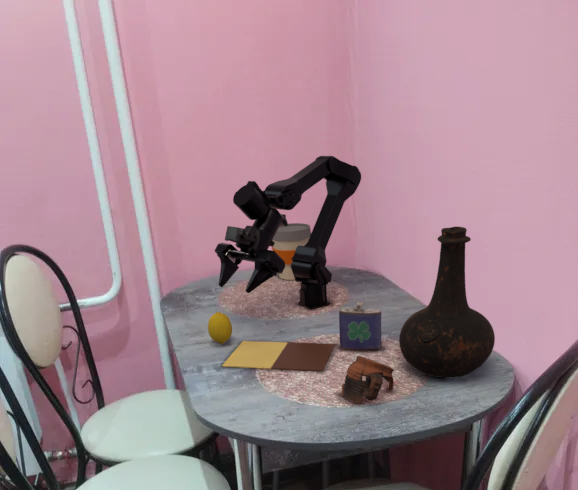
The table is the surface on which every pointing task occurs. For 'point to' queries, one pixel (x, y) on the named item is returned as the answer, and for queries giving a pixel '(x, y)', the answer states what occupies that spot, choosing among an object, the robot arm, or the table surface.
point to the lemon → (220, 327)
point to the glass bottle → (448, 320)
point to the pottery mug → (372, 384)
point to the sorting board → (280, 356)
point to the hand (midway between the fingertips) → (233, 289)
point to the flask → (360, 329)
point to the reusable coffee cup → (290, 244)
